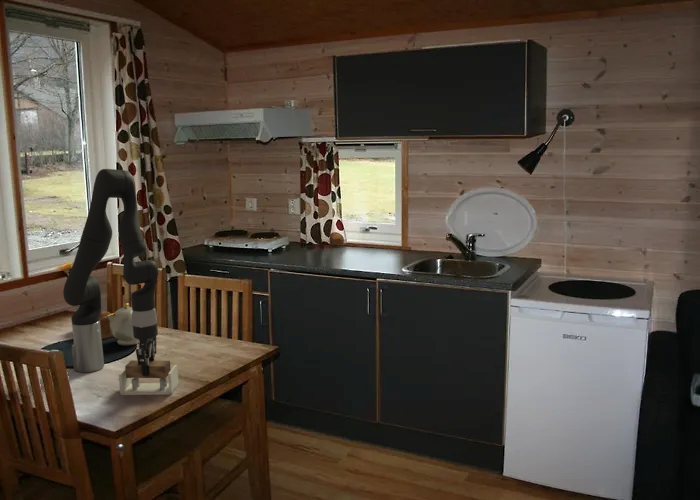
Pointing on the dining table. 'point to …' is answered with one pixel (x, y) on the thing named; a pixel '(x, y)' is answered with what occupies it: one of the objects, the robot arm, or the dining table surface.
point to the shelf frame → (148, 384)
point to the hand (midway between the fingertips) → (148, 372)
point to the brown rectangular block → (155, 369)
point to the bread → (105, 325)
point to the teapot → (123, 326)
